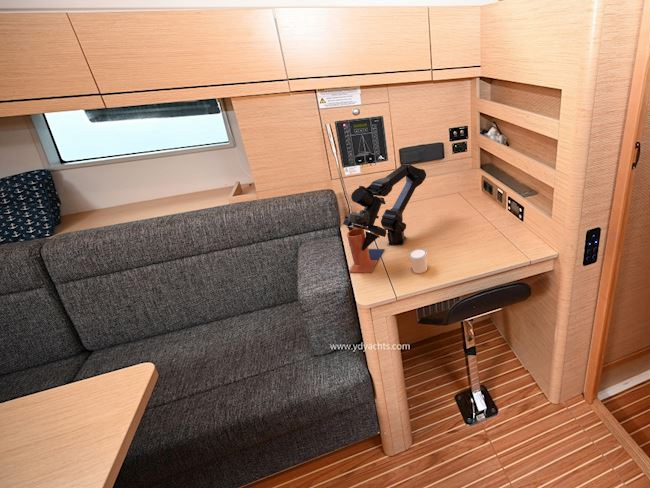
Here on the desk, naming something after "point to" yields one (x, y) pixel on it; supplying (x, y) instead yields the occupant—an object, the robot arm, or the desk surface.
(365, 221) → the robot arm
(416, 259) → the shot glass
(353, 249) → the terracotta cup
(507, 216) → the desk surface
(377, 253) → the sorting mat
